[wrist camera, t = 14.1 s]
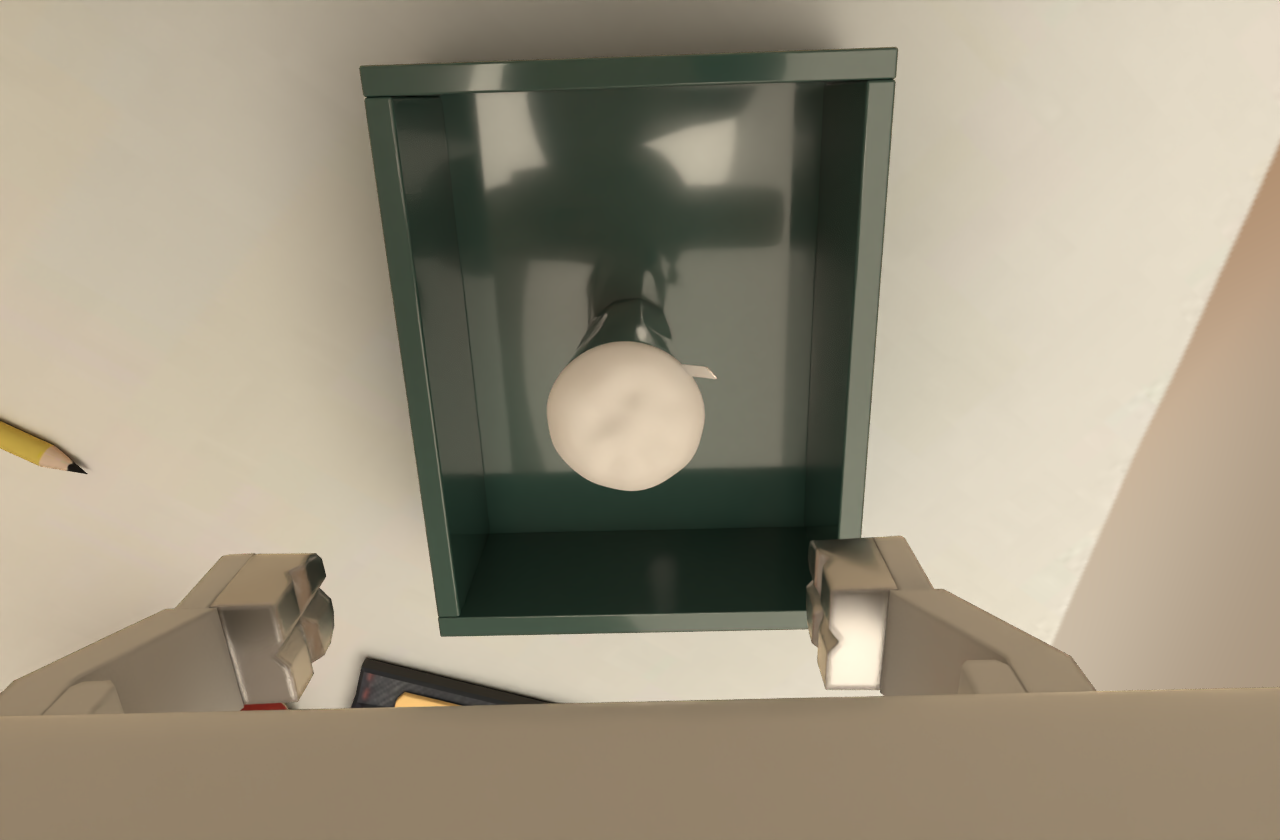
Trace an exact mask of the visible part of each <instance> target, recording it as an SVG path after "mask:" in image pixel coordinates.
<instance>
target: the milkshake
mask: <svg viewBox="0 0 1280 840" xmlns="http://www.w3.org/2000/svg"><path fill="white" fill-rule="evenodd" d="M693 377H701V378H708V379H717V377H716V376H715V374H714V373H713V372H712V371H711V370H710V369H709V368H708V367H706V366H698V365H687V364H686V362H685V360H684V358H683V357H682V355H681V353H680V351H679V348H678V345H677V342H676V340H675V337H674V335H673V333H672V331H671V328H670V326H669V324H668V321H667V319H666V316H665V314H664V313H663V312H661V311H659V310H658V309H656V308H654V307H653V306H651V305H649V304H647V303H646V302H644V301H642V300H641V299H640V300H629V301H617V302H613V303H611V304H610V305H609V306H608V307H607V308H606V309H605V310H603V311H602V312H601V313H600V314H599V315H598V316H597V317H595V318H594V319H593V320H592V322H591V324H590V326H589V327H588V329H587V331H586V333H585V335H584V336H583V338H582V340H581V342H580V344H579V345H578V347H577V349H576V351H575V353H574V355H573V356H572V358H571V359H570V360H569V362H568V363H567V365H566V366H565V368H564V369H563V371H562V372H561V373H560V374H559V376H558V377H557V379H556V381H555V383H554V384H553V387H552V389H551V391H550V394H549V397H548V402H547V420H548V426H549V432H550V436H551V440H552V443H553V445H554V447H555V449H556V451H557V452H558V454H559V455H560V456H561V458H562V459H563V460H564V461H565V462H566V463H567V464H568V465H569V466H570V467H571V468H572V469H573V470H574V471H575V472H577V473H578V474H579V475H581V476H582V477H584V478H585V479H587V480H589V481H591V482H593V483H596V484H598V485H601V486H605V487H609V488H613V489H618V490H624V491H639V490H644V489H648V488H651V487H654V486H656V485H658V484H660V483H662V482H664V481H666V480H667V479H669V478H670V477H672V476H673V475H674V474H676V473H677V472H679V471H680V470H681V469H682V468H684V467H685V466H686V465H687V464H688V463H689V462H690V460H691V459H692V458H693V456H694V454H695V452H696V450H697V448H698V445H699V442H700V439H701V435H702V431H703V427H704V419H705V409H704V402H703V398H702V395H701V392H700V390H699V388H698V386H697V384H696V382H695V380H694V378H693Z"/></svg>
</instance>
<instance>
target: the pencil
mask: <svg viewBox="0 0 1280 840" xmlns="http://www.w3.org/2000/svg"><path fill="white" fill-rule="evenodd" d="M0 448H1V449H3V450H5V451H7V452H10V453H12V454H14V455H16V456H19V457H21V458H23V459H25V460H28V461H30V462H32V463H34V464H36V465H39V466H41V467H47V468H53V469H59V470H66V471H72V472H78V473H84V474H87V473H86V472H85V471H84V470H82V469H81V468H80V467H79V466H78V465H77V464H75V463H74V462H73V461H72V460H71V459H70V458H68V457H67V456H66V455H65V454H64V453H63V452H61V451H60V450H59V449H58V448H57V447H56V446H54V445H52V444H49V443H47V442H45V441H43V440H41V439H38V438H36V437H34V436H32V435H30V434H27V433H25V432H23V431H21V430H19V429H16V428H14V427H12V426H10V425H8V424H5V423H3V422H1V421H0Z"/></svg>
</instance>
